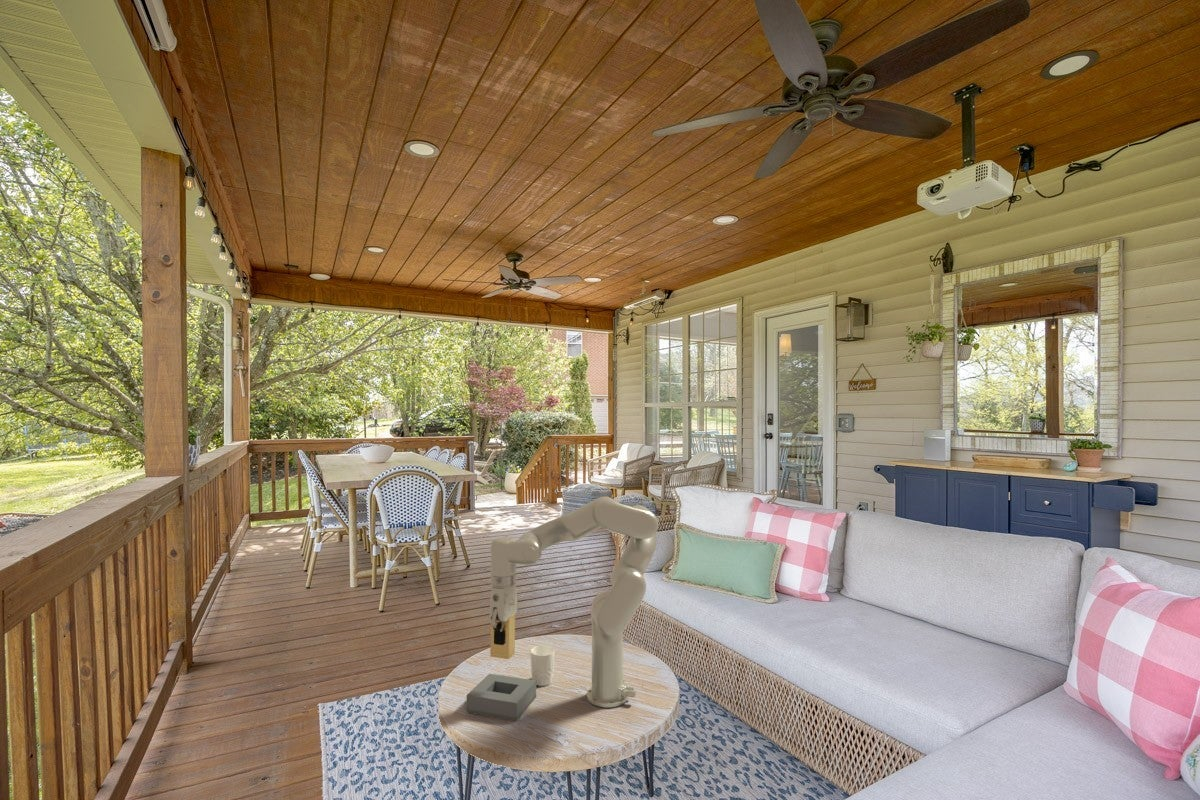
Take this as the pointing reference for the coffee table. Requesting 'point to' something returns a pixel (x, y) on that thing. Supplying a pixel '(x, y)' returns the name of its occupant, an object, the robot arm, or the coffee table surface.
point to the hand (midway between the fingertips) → (502, 640)
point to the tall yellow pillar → (509, 640)
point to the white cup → (542, 664)
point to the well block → (501, 697)
